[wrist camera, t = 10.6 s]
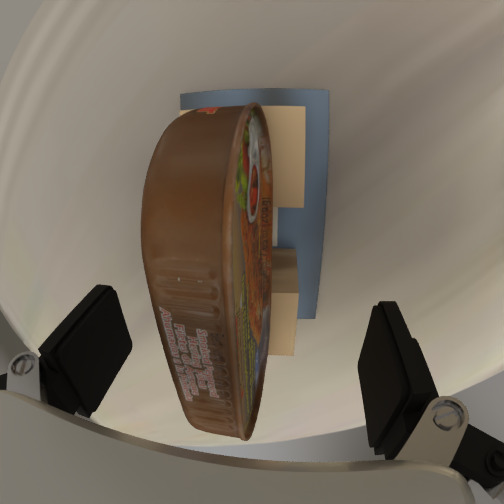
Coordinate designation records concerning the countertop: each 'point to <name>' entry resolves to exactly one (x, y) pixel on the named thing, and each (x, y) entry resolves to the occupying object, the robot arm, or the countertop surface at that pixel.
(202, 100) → the bridge base
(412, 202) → the countertop surface
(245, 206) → the tin
